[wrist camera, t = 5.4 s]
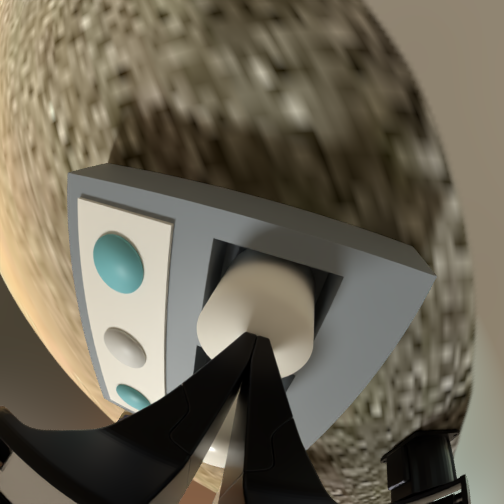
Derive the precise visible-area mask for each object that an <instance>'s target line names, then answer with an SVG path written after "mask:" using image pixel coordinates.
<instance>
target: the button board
mask: <svg viewBox="0 0 504 504" xmlns="http://www.w3.org/2000/svg"><path fill="white" fill-rule="evenodd" d="M67 199H68V228H69V242H70V253H71V262H72V270H73V277H74V284H75V290H76V296H77V302H78V307H79V312H80V317H81V321H82V326H83V330H84V334H85V338H86V342H87V346H88V350H89V353H90V357H91V360H92V364H93V367H94V370H95V373H96V376H97V379H98V382H99V385H100V388H101V391H102V394H103V396H104V398H105V399H107V400H108V401H110V402H112V403H114V404H116V405H117V406H119V407H121V408H123V409H125V410H127V411H129V412H131V413H133V414H134V413H136V412H138V411H140V410H141V409H143V408H145V407H147V406H149V405H151V404H152V403H154V402H156V401H157V400H159V399H161V398H162V397H164V396H165V395H166V394H168V393H169V392H171V391H172V390H174V389H175V388H176V387H177V386H179V385H180V384H181V385H182V383H183V382H184V381H185V380H187V379H188V378H189V377H190V376H192V375H193V374H194V373H195V372H197V371H198V370H199V369H200V368H202V367H203V366H204V365H205V364H207V363H208V362H209V361H210V360H212V359H211V358H210V357H209V356H208V355H207V354H206V353H205V351H204V350H203V348H202V346H201V344H200V342H199V339H198V336H197V321H198V318H199V315H200V313H201V311H202V310H203V308H204V306H205V305H206V303H207V302H208V300H209V298H210V297H211V295H212V293H213V292H214V290H215V289H216V287H217V285H218V284H219V282H220V281H221V279H222V277H223V276H224V274H225V273H226V271H227V269H228V268H229V266H230V265H231V263H232V261H233V260H234V259H235V258H236V257H237V255H239V254H240V253H241V252H243V251H244V250H246V249H248V248H249V249H252V250H256V251H259V252H262V253H266V254H269V255H273V256H276V257H279V258H283V259H286V260H290V261H293V262H296V263H300V264H303V265H306V266H309V268H310V270H311V272H312V274H313V278H314V340H313V350H312V353H311V356H310V358H309V359H308V361H307V363H306V364H305V365H304V366H303V367H302V368H300V369H299V370H298V371H296V372H295V373H293V374H291V375H289V376H286V377H283V378H282V382H283V385H284V388H285V391H286V395H287V398H288V401H289V404H290V408H291V411H292V414H293V418H294V420H295V423H296V427H297V430H298V432H299V435H300V438H301V441H302V443H303V446H304V448H305V450H307V449H308V448H309V447H310V446H311V445H312V444H313V443H314V442H315V441H316V440H317V439H318V438H319V437H320V436H321V435H322V434H323V433H324V432H325V431H326V430H327V429H328V428H329V427H330V426H331V425H332V424H333V423H334V422H335V421H336V420H337V419H338V418H339V417H340V416H341V415H342V414H343V412H344V411H345V410H346V409H347V408H348V407H349V406H350V405H351V403H352V402H353V401H354V400H355V399H356V398H357V396H358V395H359V394H360V393H361V392H362V390H363V389H364V388H365V387H366V385H367V384H368V383H369V382H370V380H371V379H372V378H373V377H374V375H375V374H376V373H377V371H378V370H379V369H380V367H381V366H382V365H383V363H384V362H385V361H386V359H387V358H388V356H389V355H390V354H391V352H392V351H393V349H394V348H395V346H396V345H397V343H398V342H399V340H400V339H401V337H402V336H403V334H404V333H405V331H406V330H407V328H408V327H409V325H410V323H411V322H412V320H413V318H414V317H415V315H416V313H417V312H418V310H419V308H420V307H421V305H422V303H423V301H424V300H425V298H426V296H427V294H428V292H429V290H430V289H431V287H432V285H433V283H434V281H435V279H436V277H437V276H436V275H435V274H434V272H433V271H432V270H431V268H430V267H429V266H428V265H427V263H426V262H425V261H424V260H423V258H422V257H421V256H420V255H419V253H418V252H417V251H416V250H415V249H414V247H413V246H410V245H407V244H405V243H402V242H399V241H396V240H394V239H391V238H388V237H385V236H382V235H379V234H377V233H374V232H371V231H368V230H365V229H362V228H359V227H356V226H353V225H350V224H347V223H344V222H341V221H338V220H335V219H331V218H328V217H325V216H322V215H319V214H315V213H312V212H309V211H305V210H302V209H299V208H295V207H292V206H289V205H285V204H282V203H278V202H275V201H271V200H267V199H264V198H260V197H256V196H253V195H249V194H245V193H241V192H237V191H234V190H230V189H226V188H222V187H218V186H214V185H209V184H205V183H201V182H197V181H193V180H188V179H184V178H179V177H175V176H170V175H166V174H161V173H156V172H151V171H146V170H141V169H136V168H131V167H126V166H121V165H115V164H109V163H105V164H101V165H97V166H92V167H88V168H84V169H80V170H76V171H73V172H69V173H68V188H67Z"/></svg>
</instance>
